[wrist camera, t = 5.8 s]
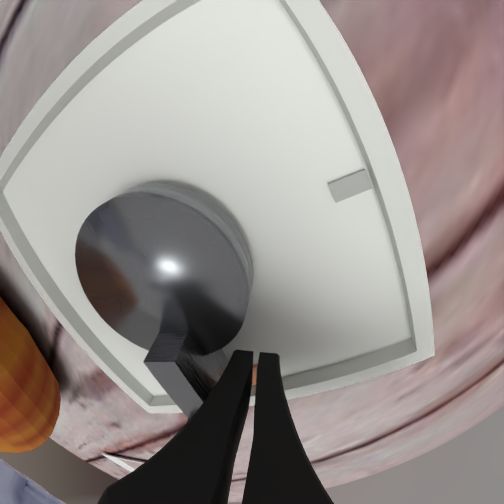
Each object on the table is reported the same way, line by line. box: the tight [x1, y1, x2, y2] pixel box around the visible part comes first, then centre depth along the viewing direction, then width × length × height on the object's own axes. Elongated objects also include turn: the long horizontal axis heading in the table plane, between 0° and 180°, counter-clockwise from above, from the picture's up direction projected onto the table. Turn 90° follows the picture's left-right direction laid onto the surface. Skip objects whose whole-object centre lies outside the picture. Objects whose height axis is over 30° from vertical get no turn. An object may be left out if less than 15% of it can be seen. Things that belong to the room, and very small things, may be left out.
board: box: [0, 0, 435, 413], centre depth 10 cm, size 16×16×2 cm
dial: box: [75, 182, 254, 422], centre depth 9 cm, size 10×6×3 cm, turn 17°
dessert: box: [101, 453, 146, 472], centre depth 28 cm, size 12×12×5 cm
